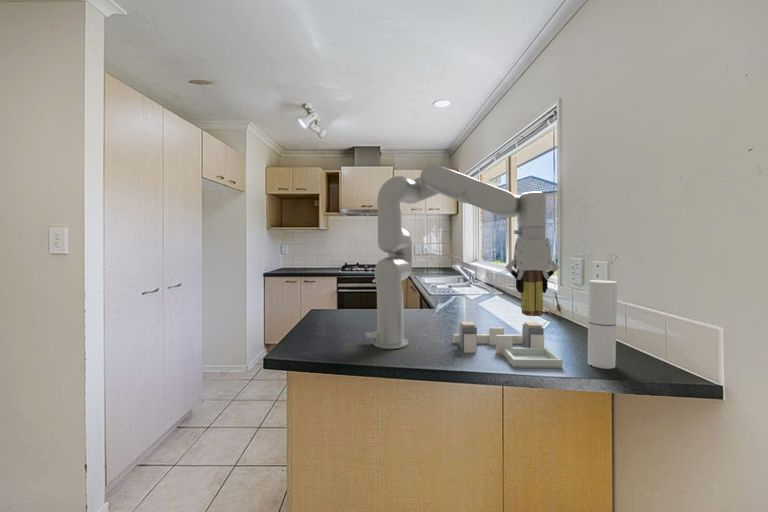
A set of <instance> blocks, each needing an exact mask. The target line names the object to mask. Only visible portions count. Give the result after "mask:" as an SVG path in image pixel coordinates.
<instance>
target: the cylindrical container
mask: <svg viewBox="0 0 768 512" xmlns="http://www.w3.org/2000/svg"><path fill="white" fill-rule="evenodd" d="M617 295H618V281H616V280H605V279H604V280H603V279H593V280H592V279H591V280H588V311H587V312H588V315H587V316H588V317H587V318H588V322H587V323H588V324H587V326H588V327H587V364H588V365H589V366H591V365H592V367H595V368H598V369H606V370H608V369H611V370H612V369H615V368H616V359H617V358H616V354H617V348H616V347H617V304H618V303H617V302H618V299H617V298H618V296H617Z"/></svg>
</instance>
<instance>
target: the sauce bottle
mask: <svg viewBox="0 0 768 512" xmlns="http://www.w3.org/2000/svg"><path fill="white" fill-rule="evenodd" d="M522 280H523V293H520V309H521V313H522V315H524V316H527V317H540V316H541V317H542V315H543V310H544V293H543V281H542V272H541V271H536V270H534V271H524V273H523V275H522Z"/></svg>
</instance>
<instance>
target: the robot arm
mask: <svg viewBox="0 0 768 512" xmlns="http://www.w3.org/2000/svg"><path fill="white" fill-rule="evenodd" d="M437 195H443V196H446V197H448V198H450V199H452V200H455V201H456V202H459V203H462V204H468V205H471V206H474V207H476V208H479V209H481V210H484V211H486V212H489V213H491V214H493V215H496V216H498V217H499V218H504V219H508V218H509V219H512V218H517V217H518V228H517V229H514V231H513V234H514V235H517V236H518V237H517V238H516V241H515V245H514V251H513V259H512V260H511V261H510V262H508V263H507V265H505V267H504V268H505V270H507V272H509V273H510V275H511V276H512V277H513V278H514V279H515V290H516V292H517V293H520V294H521V293H523V280H522V275H523V273H524V271H534V270H536V271H541V272H542V281H543V294H547V290H548V286H549V285H548V280H550V278H551V277H552V276H553V275H554V273H556V272H557V270H558V269H559V268H560V267H559V266H558V264H557V263H555V262H554V261H553V260H552V250H551V245H550V238H549V237H546V234H547V233H546V231H547V230H546V229H547V227H546V226H547V225H546V222H547V219H546V217H547V213H546V212H547V207H546V206H547V197H546V194H545V193H544V192H542V191H529V192H523V193H521V194H513V193H512V192H510V191H508V190H506V189H502V188H501V187H497V186H494V185H492V184H489V183H486V182H484V181H481V180H478V179H476V178H474V177H471V176H469V175H466V174H464V173H461V172H458V171H456V170H453V169H450V168H448V167H445V166H442V165H440V164H436V163H430V164H427V165H425V166H424V167H423V168H422V170H421V172H420V175H419V177H417V178H414V179H411V178H409V177H406V176H401V175H398V176H396V175H395V176H393V177H390V178H389V179H387V180H386V181H385V182H384V183H383V184H382V185H381V187H380V188H379V191H378V193H377V203H376V204H377V245H378V248H379V249H380V250H381V252H383V253H386V254H388V256H386V257H384V258H381V259H380V260H379V261H378V262H377V263H376V265H375V268H374V280H375V287H376V312H377V313H376V314H377V315H376V316H377V317H376V318H377V319H376V320H377V322H376V323H377V324H376V325H377V326H376V327H377V330H376V331H374V332H365V334H364V335H365V337H364V338H366V339H368V340H373V341H372V344H373V346H374V347H376V348H379V349H383V350H385V349H386V350H395V349H396V350H397V349H402V348H405V347H407V346H408V345H409V342H408V341H409V340H408V339H406V338H405V336H404V335H405V334H404V333H405V332H404V330H405V329H404V327H405V326H404V323H405V322H404V321H405V320H404V317H405V315H404V313H405V312H404V289H403V284H402V281H404V280H406V279H408V278H409V277H410V275H411V272H412V267H413V265H412V264H413V259H412V258H413V257H412V253H413V251H412V249H413V248H412V244H413V243H412V238H411V235H410V233H409V232H408V231H407V229H405V228H403V227H402V211H401V210H402V209H401V205H400V204H401V202H402V203H404V204H405V203H406V204H417V203H420V202H421V201H422V202H423V201H425V200H427V199H429V198H431V197H434V196H437ZM513 268H514V269H515V270H516V271H515V270H514V269H513Z"/></svg>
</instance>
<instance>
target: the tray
mask: <svg viewBox="0 0 768 512" xmlns="http://www.w3.org/2000/svg"><path fill="white" fill-rule="evenodd" d="M502 357H503V358H506V359H507V360H506V359H505V360H506V361H507V362H508V363H509V365H510V364H511V365H512V366H511V365H510V366H511V367H512V369H557V370H558V369H561V370H562V369H563V358H561V357H559V356H558V355H557V354H556V353H554V352H552V351H551V350H550V349H549V348H547V347H544V348H524V347H512V348H507V347H503V356H502Z"/></svg>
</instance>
